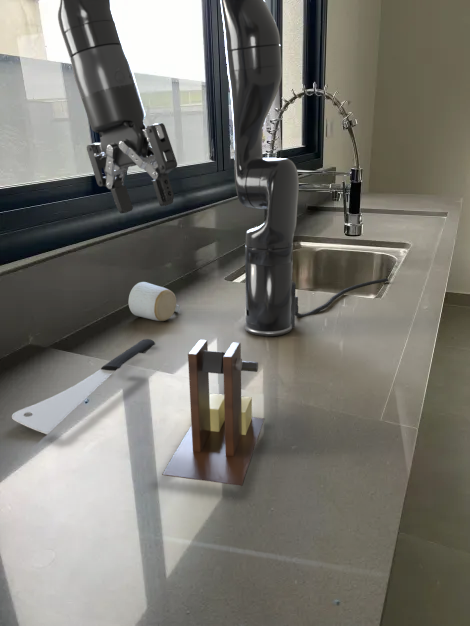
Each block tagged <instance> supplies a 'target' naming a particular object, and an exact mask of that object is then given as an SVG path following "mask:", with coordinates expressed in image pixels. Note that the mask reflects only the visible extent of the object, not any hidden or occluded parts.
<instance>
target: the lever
mask: <svg viewBox="0 0 470 626" xmlns="http://www.w3.org/2000/svg"><path fill="white" fill-rule="evenodd" d="M225 353H226V352H224V351H214V350H208V351H204V355H203V366H202V372H206V373H209V374H218V375H224V370H223V356H224V355H225ZM258 371H259V362H258V361H249V360H242V369H241V372H253V373H258Z"/></svg>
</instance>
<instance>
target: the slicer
mask: <svg viewBox="0 0 470 626" xmlns="http://www.w3.org/2000/svg"><path fill="white" fill-rule="evenodd" d="M208 345H209V344H208V340H207V339H199V340H198V341H197V342H196V344H194V345H193V347H192V348H191V349H190V350H189V352H188V353H187V364H188V382H189V383H188V385H189V402H190V403H189V404H190V405H189V406H190V417H191V418H190V420H191V425H190V426H189V428H188V430H187V431H186V434H185V435H184V436H183V438H182V440H181V442H180V443H179V445H178V446H177V448H176V450H175V452H174V453H173V455H172V457H171V458H170V460H169V461H168V464H167V465H166V467H165V469H164V470H163V472H162V473H161V475H162V476H167V477H174V478H175V477H176V478H182V479H189V480H197V481H198V480H199V481H204V482H212V483H218V484H226V485H233V486H243V483H244V481H245V478H246V474H247V472H248V470H249V466H250V463H251V461H252V457H253V454H254V452H255V448H256V446H257V444H258V439H259V437H260V434H261V430H262V427H263V425H264V421H265V418H264V417H263V418H262V417H256V416H252V420H251V422H250V425H249V427H248V430H247V433H246V435H242V411H241V396H242V371H241V369H242V361H243V358H242V351H241V350H242V349H241V348H242V346H241V345H242V344H241V342H237V341H232V342H231V344H230V346H229V347H228V348H227V350H226V351H225V352H224V353H225V355H224V356H223V370H224V374H223V395H224V409H225V421H224V423H223V425H222V427H221V429H220V431H219V432H215V431H211V427H210V400H209V393H210V378H209V376H210V375H209V374H210V373H206V372H202V366H203V355H204V351H209V350H208V348H209V346H208Z"/></svg>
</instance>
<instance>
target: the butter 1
mask: <svg viewBox="0 0 470 626" xmlns="http://www.w3.org/2000/svg"><path fill="white" fill-rule="evenodd" d="M209 400H210V427H211V431H215V432H219V431H220V429H221V427H222V425H223V423H224V421H225V409H224V394H220V393H211V392H209Z"/></svg>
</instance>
